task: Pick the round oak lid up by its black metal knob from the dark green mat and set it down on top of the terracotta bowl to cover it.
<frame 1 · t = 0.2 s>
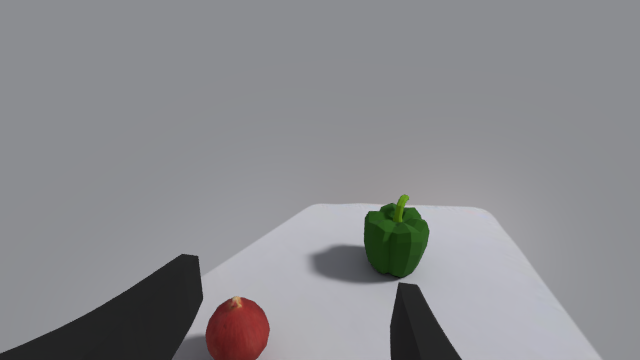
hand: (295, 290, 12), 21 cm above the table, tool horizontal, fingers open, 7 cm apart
bell pepper: (392, 266, 48), on the table
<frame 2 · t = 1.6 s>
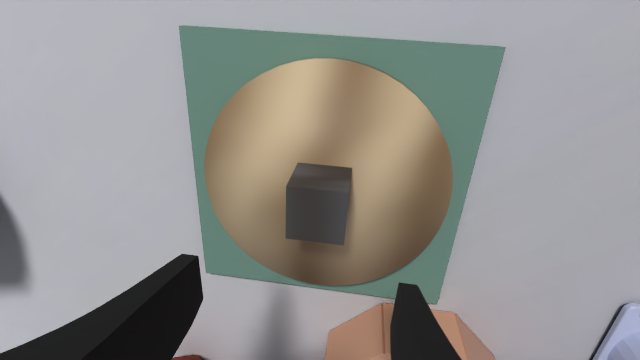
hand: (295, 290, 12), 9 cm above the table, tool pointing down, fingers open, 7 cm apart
mat: (325, 179, 21), on the table
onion: (197, 356, 30), on the table
lid: (324, 183, 20), resting on mat
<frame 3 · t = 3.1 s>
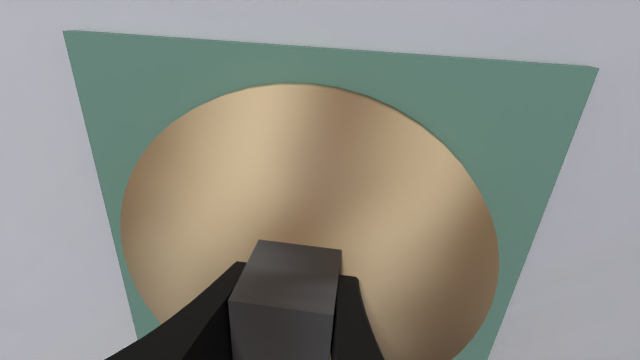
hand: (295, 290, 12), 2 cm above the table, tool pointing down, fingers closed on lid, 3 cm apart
mat: (304, 256, 14), on the table
lid: (302, 263, 14), resting on mat, touching gripper
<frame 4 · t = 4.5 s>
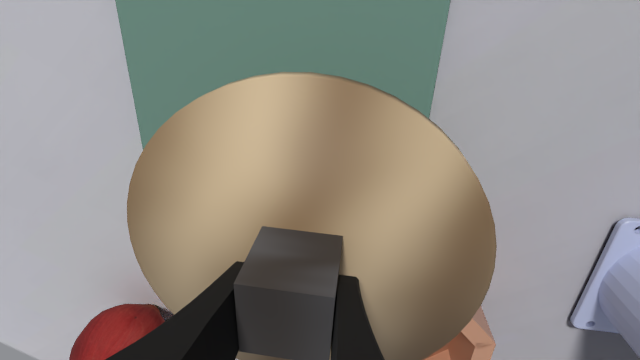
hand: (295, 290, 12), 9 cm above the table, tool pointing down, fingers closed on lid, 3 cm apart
mat: (276, 79, 18), on the table
bowl: (377, 308, 24), on the table
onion: (154, 306, 27), on the table
lid: (304, 249, 14), point 7 cm above the table, touching gripper
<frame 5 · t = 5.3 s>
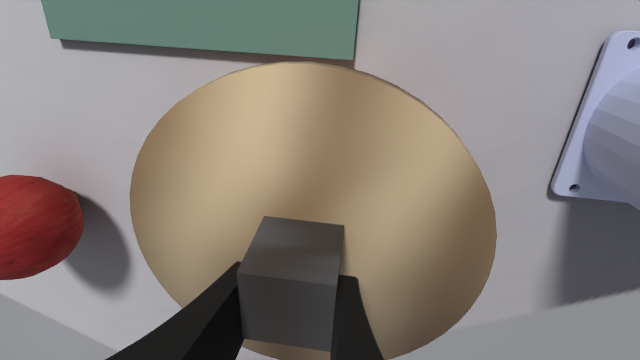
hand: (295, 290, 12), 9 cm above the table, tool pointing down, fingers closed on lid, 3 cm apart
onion: (73, 194, 24), on the table
lid: (306, 239, 14), point 7 cm above the table, touching gripper
when the fingers open (7 cm above the table, at t = 6.0 s): lid stays where it is, resting on bowl.
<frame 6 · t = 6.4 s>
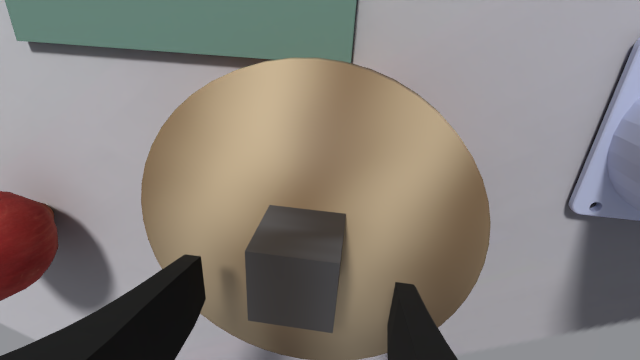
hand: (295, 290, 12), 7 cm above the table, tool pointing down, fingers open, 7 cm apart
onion: (49, 209, 22), on the table
lid: (309, 230, 15), point 4 cm above the table, touching bowl
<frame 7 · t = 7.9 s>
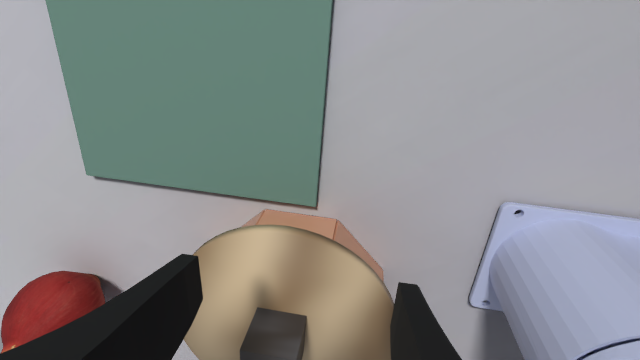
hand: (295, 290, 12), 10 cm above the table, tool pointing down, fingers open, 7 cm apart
mat: (190, 64, 20), on the table
bowl: (296, 283, 26), on the table
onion: (96, 277, 29), on the table
lid: (284, 319, 22), point 4 cm above the table, touching bowl
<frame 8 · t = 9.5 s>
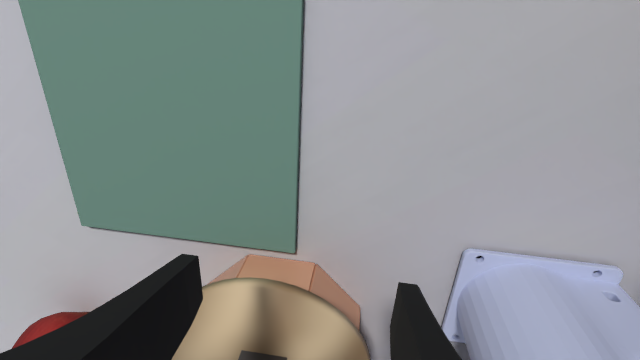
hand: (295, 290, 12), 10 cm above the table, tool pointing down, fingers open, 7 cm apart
mat: (174, 129, 22), on the table
bowl: (281, 319, 28), on the table
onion: (93, 314, 31), on the table
lid: (267, 358, 24), point 4 cm above the table, touching bowl
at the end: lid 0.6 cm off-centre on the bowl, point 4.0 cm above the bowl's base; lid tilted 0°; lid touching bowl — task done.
